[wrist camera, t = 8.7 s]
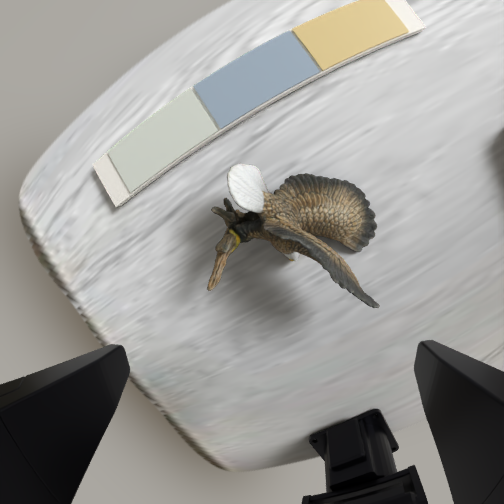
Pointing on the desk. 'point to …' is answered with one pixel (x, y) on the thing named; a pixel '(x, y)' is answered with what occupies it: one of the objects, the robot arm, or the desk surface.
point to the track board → (250, 89)
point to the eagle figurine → (297, 221)
